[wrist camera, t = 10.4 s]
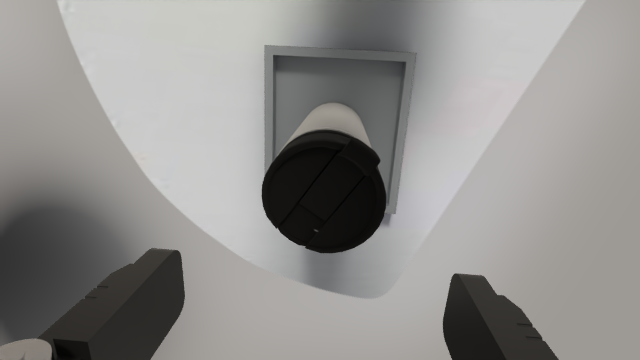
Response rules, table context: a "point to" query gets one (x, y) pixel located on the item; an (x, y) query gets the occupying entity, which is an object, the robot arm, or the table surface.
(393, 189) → the tray
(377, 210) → the travel mug
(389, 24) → the table surface
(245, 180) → the table surface
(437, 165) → the table surface
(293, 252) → the table surface
